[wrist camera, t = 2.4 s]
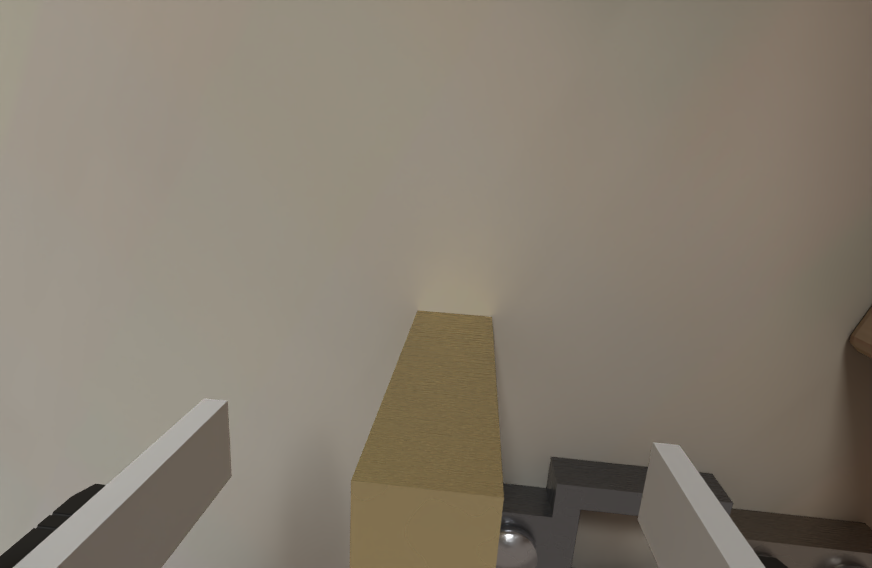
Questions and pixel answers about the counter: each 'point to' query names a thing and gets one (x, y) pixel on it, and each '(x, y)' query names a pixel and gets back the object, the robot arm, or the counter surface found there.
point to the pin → (433, 454)
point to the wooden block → (863, 335)
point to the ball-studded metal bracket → (622, 493)
